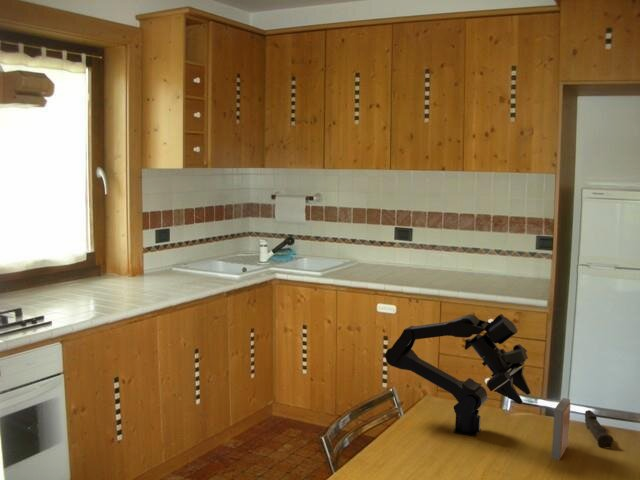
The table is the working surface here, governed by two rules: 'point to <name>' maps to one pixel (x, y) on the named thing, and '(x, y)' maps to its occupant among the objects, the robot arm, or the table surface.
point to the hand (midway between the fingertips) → (525, 398)
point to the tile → (561, 428)
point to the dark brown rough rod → (597, 430)
